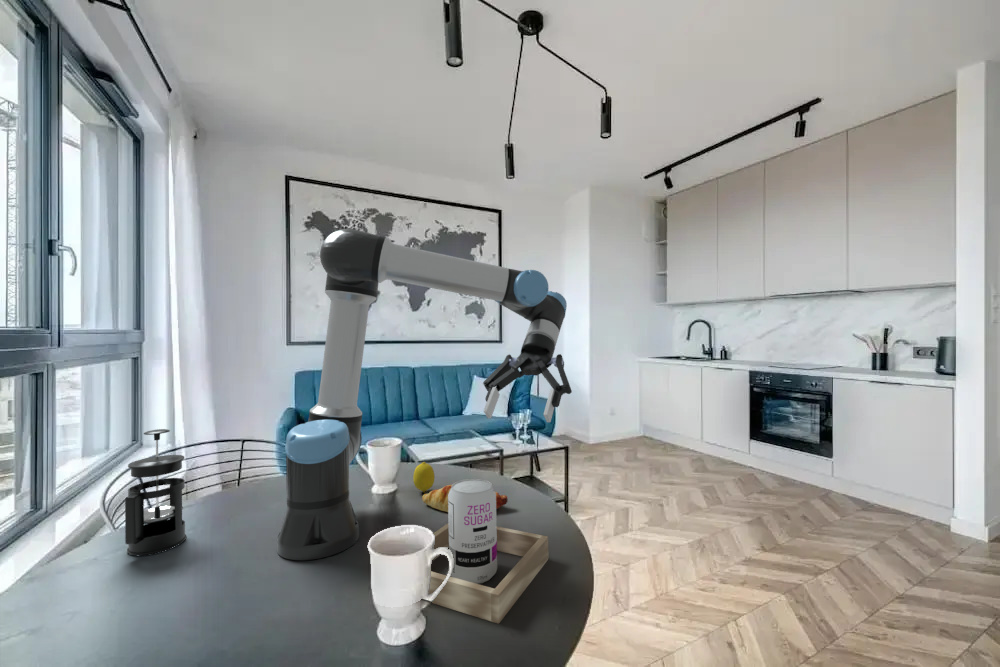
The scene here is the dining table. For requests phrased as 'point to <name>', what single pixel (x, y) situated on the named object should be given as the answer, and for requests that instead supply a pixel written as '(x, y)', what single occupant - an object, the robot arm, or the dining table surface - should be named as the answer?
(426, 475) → the lemon
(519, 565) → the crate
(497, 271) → the robot arm
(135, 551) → the french press
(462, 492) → the supplement can
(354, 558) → the dining table surface
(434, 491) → the croissant
